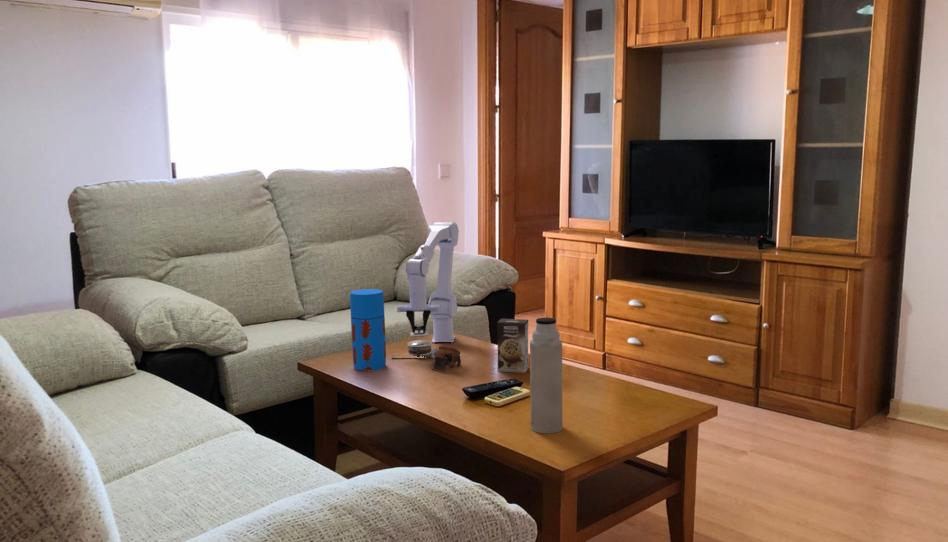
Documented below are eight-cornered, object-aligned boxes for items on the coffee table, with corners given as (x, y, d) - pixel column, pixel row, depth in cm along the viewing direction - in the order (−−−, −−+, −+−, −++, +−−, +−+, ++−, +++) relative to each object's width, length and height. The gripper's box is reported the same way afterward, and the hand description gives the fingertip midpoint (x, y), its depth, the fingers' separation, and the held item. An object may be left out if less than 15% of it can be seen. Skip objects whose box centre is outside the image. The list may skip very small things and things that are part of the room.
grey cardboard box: (497, 371, 248) (496, 322, 246) (501, 366, 254) (500, 317, 252) (525, 373, 246) (525, 322, 243) (529, 367, 252) (528, 318, 250)
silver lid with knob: (411, 332, 275) (410, 324, 274) (429, 332, 275) (428, 324, 274) (409, 336, 269) (408, 328, 268) (427, 336, 268) (427, 327, 268)
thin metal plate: (396, 349, 279) (396, 339, 279) (446, 348, 279) (446, 338, 278) (391, 358, 266) (391, 348, 266) (444, 358, 266) (444, 347, 265)
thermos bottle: (529, 423, 200) (527, 315, 196) (560, 422, 200) (559, 315, 196) (532, 434, 192) (531, 322, 188) (564, 433, 193) (564, 321, 188)
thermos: (383, 371, 252) (380, 294, 248) (350, 371, 252) (347, 295, 248) (388, 362, 262) (385, 288, 259) (356, 362, 263) (353, 289, 259)
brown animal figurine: (424, 369, 255) (431, 345, 257) (448, 378, 259) (455, 354, 261) (442, 367, 245) (449, 342, 247) (467, 377, 249) (473, 352, 251)
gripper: (395, 296, 266) (396, 335, 268) (438, 295, 265) (439, 334, 267) (398, 292, 273) (399, 330, 275) (439, 291, 272) (440, 329, 274)
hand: (419, 332), depth 272 cm, fingers closed on silver lid with knob, 3 cm apart
